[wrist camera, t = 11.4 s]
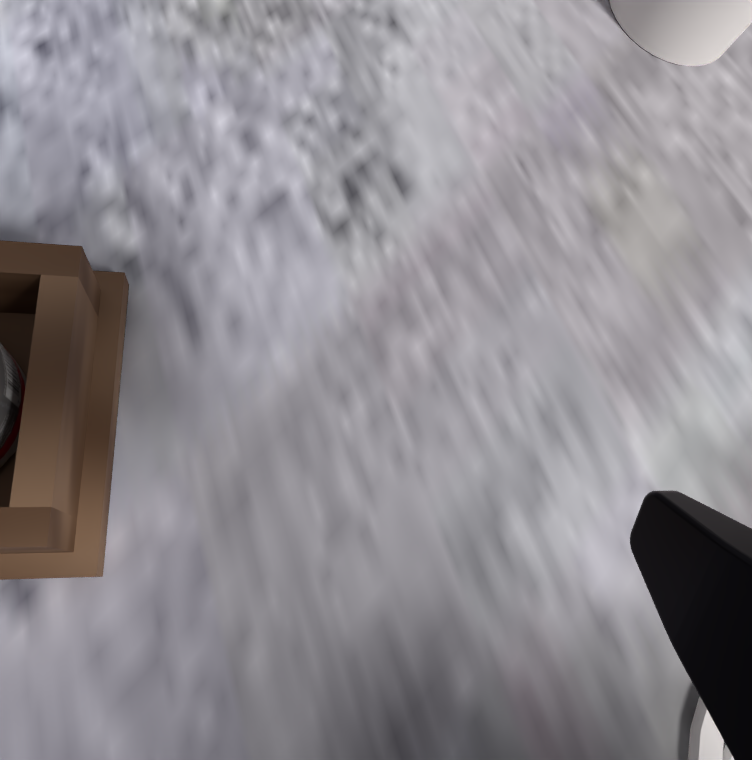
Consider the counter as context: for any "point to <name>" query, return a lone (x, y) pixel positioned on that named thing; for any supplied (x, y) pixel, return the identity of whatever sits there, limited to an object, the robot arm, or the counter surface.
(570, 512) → the counter surface
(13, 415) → the pill bottle
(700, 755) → the pendant
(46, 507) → the socket block
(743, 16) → the cylindrical container
